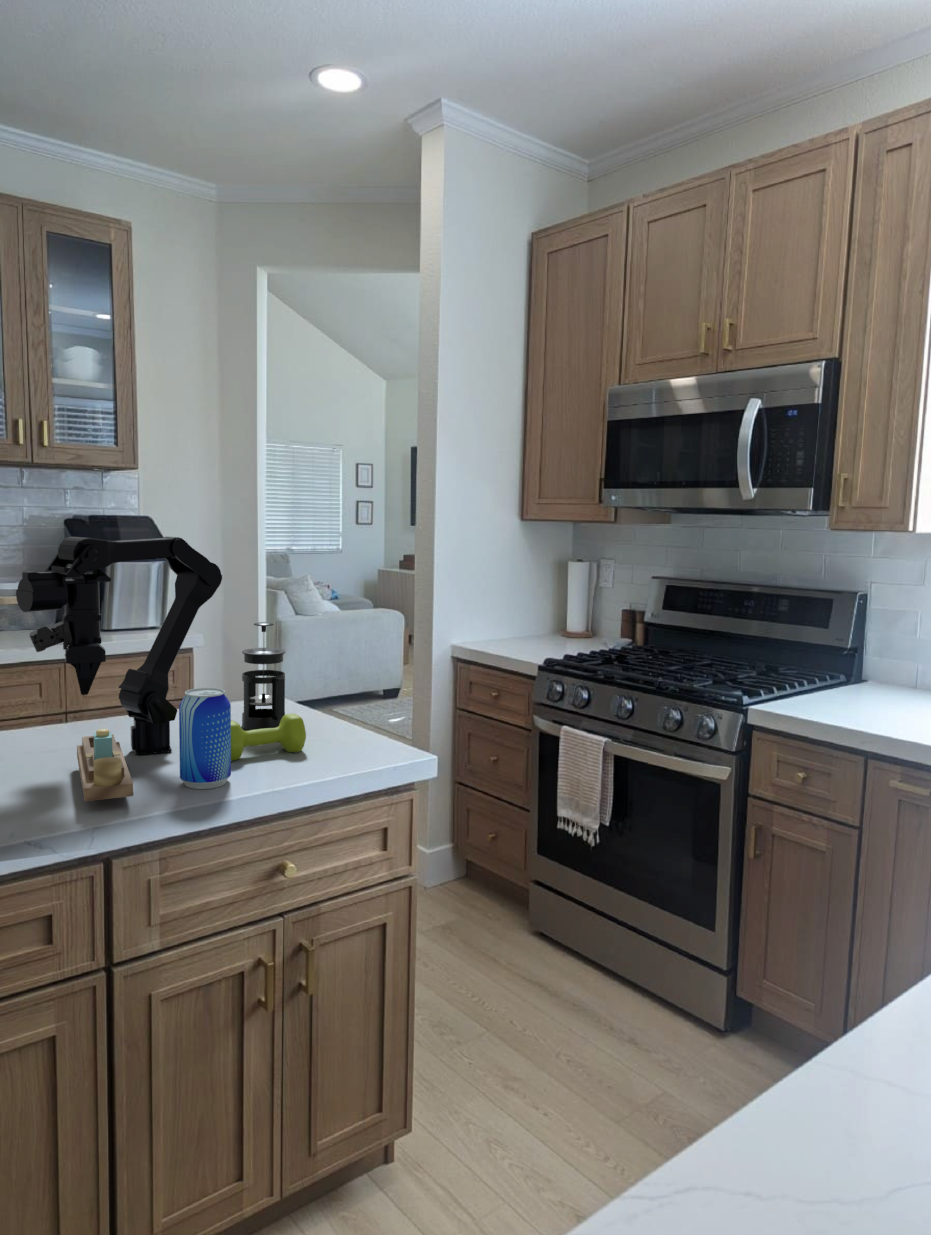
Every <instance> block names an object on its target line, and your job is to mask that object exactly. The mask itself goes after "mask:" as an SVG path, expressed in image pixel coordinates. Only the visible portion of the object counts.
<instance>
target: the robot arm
mask: <svg viewBox="0 0 931 1235" xmlns="http://www.w3.org/2000/svg"><path fill="white" fill-rule="evenodd" d="M155 559H156V560H157V559H158V560H159V559H164V560H165V561H166V563H167V565H168V567H169V569H170V570H171V571H172V572H174V574H175V575H176V579H175V582H174V600H173V603H172V605H171V607H170V609H169V611H168V613H167V614H166V617H165V619H164V621H163V623H162V625H161V627H160V629H159V632H158V633H157V636H156V637H155V640H154V641H153V644H152V646H151V648H150V650H149V652H148V654H147V657H146V659H145V661H144V663H143V664H142V665H141V666H139V667H138V668H137V669H133V668H128V669H127V671H126V673H125V676H124V679H123V681H122V682H121V684H119V686H118V689H120V691H119V693H118V699H119V702H120V704H121V706H122V708H123V709H125V711H126V713H127V716H128V717H129V718H133V725H131V726H130V748H131V750H132V751H134V754H135V755H136V756H141V755H142V756H143V755H150V754H151V755H152V754H162V753H163V754H164V753H171V752H172V751H173V750H172V748H171V724H170V722H172V721H175V720H176V717H177V713H178V709H177V708H176V707H175V706H174V704H172V703H171V702H170V701H169V700H167V697H168V693H169V689H170V688H169V686H170V684H169V673H170V671H171V669H172V667H173V665H174V662H175V660H176V658H177V656H178V654H179V652H180V649H181V648H182V645H183V643H184V641H185V638H187V635H188V632H189V630H190V628H191V626H192V624H193V622H194V620H195V618H196V616H197V614H198V611H199V609H200V608H201V607H202V606H203V605H204V604H205V603H207V602H209V600H210V599H211V598H213V596H214V594H215V593H217V591H218V589H219V588H220V586H221V584H222V581H223V574H222V573H221V569H220V567H219V565H217V564H216V563H214V562H211V561H210V560H209V559H208V558H207V557H206V556H204V554H201V553H200V552H199V551H197V550H196V549H195V548H194V547H192V546H191V545H190V544H189V543H188V542H187V541H186V540H184V539H183V538H182V537H179V536H178V537H177V536H164V537H160V538H141V539H140V538H139V539H126V540H125V539H124V540H110V539H109V540H108V539H102V538H101V539H100V538H94V537H81V536H69V537H68V536H67V537H65V538H64V539H63V540H62V541H61V542H60V544H59V546H58V549H57V553H56V555H55V556H54V558H53V559H52V561H51V562H50V563H49V565H48V566H47V568H46V569H45V571H38V572H37V571H36V572H35V571H31V570H30V571H29V570H28V571H22V572H21V574H22V575H21V579H20V580H19V581H18V586H17V589H16V591H15V596H16V597H15V598H16V601H17V602H16V603H17V605H18V607H19V609H20V610H21V611H22V612H23V613H33V612H46V611H58V610H61V609H62V608H63V606H64V614H62V620H61V621H59V622H57V623H56V622H55V623H52V624H50V625H47V624H45V625H43V626H42V627H37V628H36V630H33V631H31V632H29V638H30V640H31V642H32V644H33V647H34V650H35V652H36V653H40V652H44V651H45V650H46V649H48V648H51V647H53V646H56V645H59V644H61V643H62V649H63V650H64V657H65V664H68V665H71V666H72V667H73V668H74V669H75V673H76V678H77V683H78V687H79V691H80V695H81V696H88V695H89V692H90V691H91V687H92V685H93V683H94V680H95V678H96V675H97V673H98V670H99V669H100V667H101V663H105V662H106V660H107V657H106V648H105V647H104V646H102V645H101V644H102V637H101V621H102V614H101V606H100V604H101V603H100V600H101V599H100V597H101V595H100V594H101V593H100V583H110V582H111V581H112V578H111V577H110V576H109V575H107V574H106V573H105V572H104V571H103V568H107V567H110V566H112V565H114V564H117V563H121V562H130V561H131V562H132V561H133V562H134V561H142V560H144V561H145V560H155ZM88 571H89V572H88ZM66 578H68V579H66Z"/></svg>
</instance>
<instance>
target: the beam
mask: <svg viewBox="0 0 931 1235" xmlns="http://www.w3.org/2000/svg"><path fill="white" fill-rule="evenodd" d="M111 735H112V751H113V757H104V758H99V759H96V760H94V735H90V736H89V735H88V736H81V737H82V738H81V744H78V745H76V757H77V764H78V770H79V776H80V777H79V778H80V782H81V783H80V784H81V788H82V793H83V800H84V802H90V801H100V800H108V799H109V800H110V799H118V798H127V797H129V798H130V797H134V782H133V779H132V776H131V773H130V771H129V768H128V765H127V761H126V759H125V755H124V753H123V751H122V748H121V744H120V742H119V741H116V739H115V736H114V734H112V733H111Z"/></svg>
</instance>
